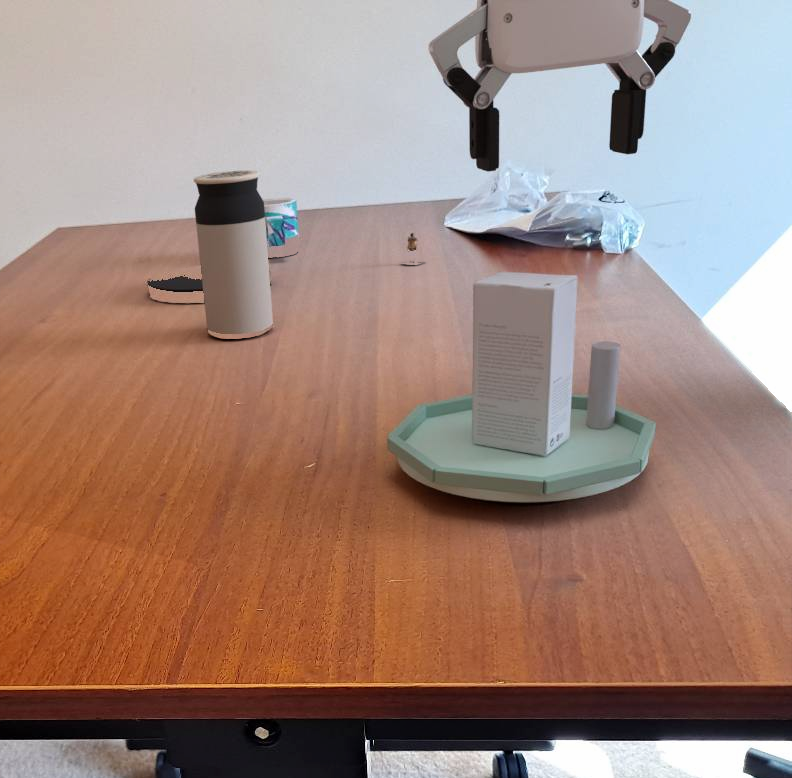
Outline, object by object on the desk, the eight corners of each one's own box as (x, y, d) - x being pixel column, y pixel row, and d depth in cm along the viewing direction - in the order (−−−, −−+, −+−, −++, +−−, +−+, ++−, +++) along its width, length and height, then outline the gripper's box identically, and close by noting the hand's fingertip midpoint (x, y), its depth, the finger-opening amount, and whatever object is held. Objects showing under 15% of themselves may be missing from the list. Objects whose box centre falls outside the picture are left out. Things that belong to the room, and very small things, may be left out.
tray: (705, 469, 67) (718, 371, 64) (471, 523, 62) (473, 420, 59) (553, 398, 82) (558, 316, 79) (358, 437, 78) (355, 352, 75)
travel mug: (285, 326, 118) (275, 169, 110) (250, 343, 113) (235, 179, 105) (232, 322, 122) (217, 170, 115) (194, 338, 117) (177, 180, 109)
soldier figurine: (421, 263, 145) (421, 232, 143) (416, 264, 144) (416, 234, 142) (410, 262, 147) (409, 231, 145) (405, 263, 146) (404, 233, 144)
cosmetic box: (570, 439, 72) (581, 274, 66) (546, 458, 69) (554, 288, 64) (495, 426, 75) (499, 269, 70) (468, 444, 73) (471, 282, 67)
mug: (297, 247, 165) (294, 196, 162) (304, 260, 155) (301, 205, 151) (249, 252, 165) (244, 200, 162) (253, 265, 155) (248, 210, 151)
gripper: (672, -137, 64) (652, 142, 72) (413, -106, 64) (420, 170, 71) (731, -160, 57) (702, 150, 65) (442, -126, 57) (447, 181, 65)
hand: (555, 160), depth 68 cm, fingers open, 9 cm apart
